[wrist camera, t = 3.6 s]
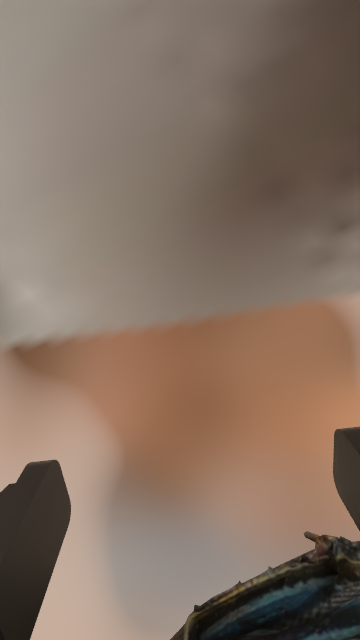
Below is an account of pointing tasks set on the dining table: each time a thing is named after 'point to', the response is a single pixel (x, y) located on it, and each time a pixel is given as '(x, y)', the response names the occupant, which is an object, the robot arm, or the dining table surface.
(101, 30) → the dining table surface
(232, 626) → the pulley block
